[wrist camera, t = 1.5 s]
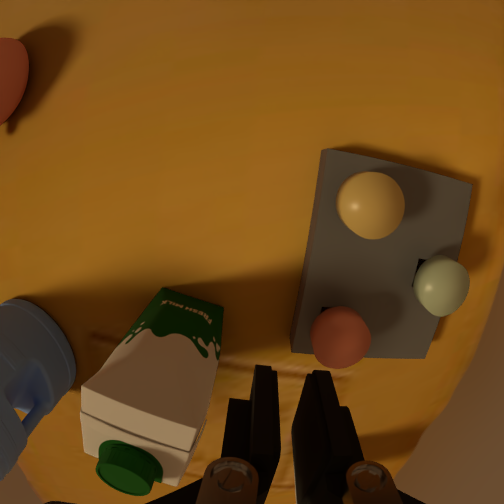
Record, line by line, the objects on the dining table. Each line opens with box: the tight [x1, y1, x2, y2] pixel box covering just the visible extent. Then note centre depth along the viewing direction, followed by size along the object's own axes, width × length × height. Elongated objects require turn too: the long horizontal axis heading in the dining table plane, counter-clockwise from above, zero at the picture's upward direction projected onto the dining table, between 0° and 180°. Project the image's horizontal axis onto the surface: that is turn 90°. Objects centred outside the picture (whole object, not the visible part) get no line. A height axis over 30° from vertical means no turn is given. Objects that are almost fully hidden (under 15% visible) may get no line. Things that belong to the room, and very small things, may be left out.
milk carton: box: [80, 287, 224, 496], centre depth 25 cm, size 9×9×20 cm
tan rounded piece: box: [336, 171, 405, 239], centre depth 25 cm, size 5×5×5 cm
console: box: [290, 149, 473, 359], centre depth 30 cm, size 20×16×3 cm
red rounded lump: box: [310, 306, 371, 369], centre depth 29 cm, size 5×5×5 cm
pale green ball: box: [413, 255, 470, 316], centre depth 27 cm, size 5×5×5 cm
